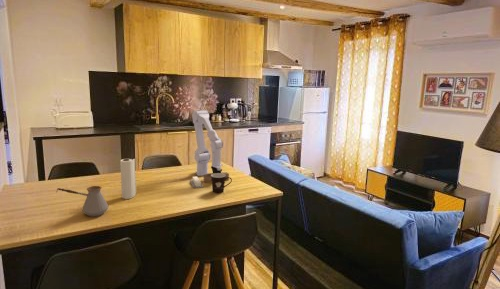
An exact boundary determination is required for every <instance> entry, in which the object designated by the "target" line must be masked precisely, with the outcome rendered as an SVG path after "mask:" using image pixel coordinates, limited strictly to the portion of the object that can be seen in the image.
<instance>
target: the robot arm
mask: <svg viewBox="0 0 500 289" xmlns="http://www.w3.org/2000/svg"><path fill="white" fill-rule="evenodd" d="M191 117H192V123H193V126H194V132H195V139H196V145H197V148H196V149H195V151H194V160H195V162H196V171H195V174H196V176H197V177H204V174H208V173H209V166H208V165H209V164H208V163H209V161H210V160H211V166H210V169H211V170H212V173H222V171H223V169H222V166H223V163H222V148H223V147H224V142H223V140H222V139H221V138H220V137H219V136H218V134H217V132H216V130H215V129H213V127H212V124H211V121H210V114H209V112H208V110H206V109H205V110H194V111H193V112H192V114H191ZM203 126H204V128H205V129H206V131H207V134H206V136H207V137H208V138H209V142H210V149H211V153H212V154H210V149H209V148H207V147H206V144H205V143H206V141H205V136H204V130H203Z"/></svg>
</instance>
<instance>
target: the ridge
mask: <svg viewBox="0 0 500 289" xmlns="http://www.w3.org/2000/svg"><path fill="white" fill-rule="evenodd" d="M189 182H190V184H191V187H192V188H193V189H200V188H205V187H204V184H202V182H201V180H200V179H199V176H198V175H196V176H192V179H190V180H189Z"/></svg>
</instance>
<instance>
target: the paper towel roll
mask: <svg viewBox="0 0 500 289" xmlns="http://www.w3.org/2000/svg"><path fill="white" fill-rule="evenodd" d="M119 162H120V164H119V165H120V179H121V180H120V184H121V186H120V187H121V198H122V199H125V200H128V199H132V198H134V197H135V196H136V195H137V182H136V181H137V180H136V177H137V176H136V158H133V159H132V158H123V159H120V161H119Z"/></svg>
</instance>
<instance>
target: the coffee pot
mask: <svg viewBox="0 0 500 289" xmlns="http://www.w3.org/2000/svg"><path fill="white" fill-rule="evenodd" d="M101 189H102V186H100V185H92V186H88V187H87V188H86V191H87V193H85V192H79V191H75V190H71V189H65V188H61V187H58V188H57V189H56V192H55V193H58V191H61V192H66V193H69V194H75V195H76V194H77V195H82V196H85V197H86V198H85V201H84V203H83V206H82V209H81V210H82V212H83V214H85V215H86V216H88V217H99V216H102V215H103V214H105V212H107V210H108V209H109V205H108V202H107V201H106V199H105V197H104V196H103V194H102V192H101Z"/></svg>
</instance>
